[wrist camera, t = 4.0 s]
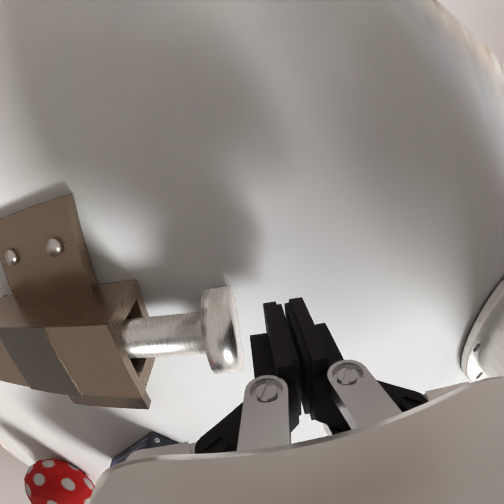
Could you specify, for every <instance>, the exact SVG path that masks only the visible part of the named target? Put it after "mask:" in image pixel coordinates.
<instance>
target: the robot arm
mask: <svg viewBox="0 0 504 504" xmlns="http://www.w3.org/2000/svg"><path fill="white" fill-rule="evenodd" d="M263 308H264V316H265V323H266V331H267V333H264V334H257V335H250V341H251V350H252V358H253V367H254V376H255V379H253V380H252V381H250V382H249V383H248V385H247V386H246V389H245V393H244V401H243V402H242V403H241V404H240V405H239V406H238V407H237V408H235V409H234V410H233V411H232V412H231V413H230V414H229V415H227V416H226V417H225V418H224V419H223V420H221V421H220V422H219V423H218V424H217V425H215V426H214V427H213V428H212V429H211V430H209V431H208V432H207V433H206V434H204V435H203V436H202V437H201V438H200V439H199V440H198V441H197V442H196V443H191V444H189V443H188V442H183V443H178V444H173V445H167V446H161V447H155V448H148V449H141V450H137V451H134V452H133V453H131V454H130V455H129V456H128V458H127V459H126V461H125V462H121V463H119V464H116V465H114V466H111V467H110V468H108V469H107V470H105V471H104V472H103V473H102V475H101V476H100V477H99V479H98V481H97V483H96V485H95V487H94V489H93V492H92V495H91V498H90V501H89V504H504V279H503V280H502V281H501V283H500V284H499V285H498V286H497V287H496V289H495V290H494V292H493V293H492V295H491V296H490V297H489V299H488V300H487V302H486V304H485V305H484V307H483V309H482V310H481V312H480V314H479V316H478V317H477V319H476V321H475V323H474V325H473V327H472V329H471V331H470V334H469V336H468V338H467V341H466V344H465V346H464V351H463V354H462V362H461V366H462V371H463V372H464V374H465V375H466V376H467V378H468V379H470V380H471V381H475V382H473V383H469V382H465V383H460V384H456V385H452V386H448V387H444V388H439V389H435V390H430V391H426V392H425V394H423V395H422V394H421V393H418V392H416V391H413V390H409V389H405V388H402V387H398V386H395V385H391V384H388V383H384V382H381V381H378V380H376V379H375V378H374V377H373V376H372V374H371V373H370V372H369V371H368V369H367V368H366V367H365V366H364V365H363V364H362V363H360V362H358V361H354V360H344V359H343V357H342V355H341V353H340V351H339V349H338V347H337V345H336V343H335V341H334V339H333V337H332V335H331V333H330V331H329V329H328V328H327V326H326V324H325V323H321V324H316V325H314V323H313V320H312V318H311V316H310V314H309V312H308V309H307V307H306V305H305V303H304V301H303V299H302V297H300V298H294V299H289V303H285V315H286V318H285V315H284V311H283V308H282V305H281V304H278V305H277V304H276V302H270V303H263ZM488 377H489V378H488ZM301 402H302V405H303V409H304V412H305V414H308V413H310V416H311V420H317V421H319V422H322V423H324V424H323V426H324V429H325V431H326V433H327V435H328V436H326V437H321V438H317V439H313V440H308V441H303V442H298V443H293V444H291V432H292V431H293V430H294V429H295V427H296V426H297V425H298V424H299V415H301Z"/></svg>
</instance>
